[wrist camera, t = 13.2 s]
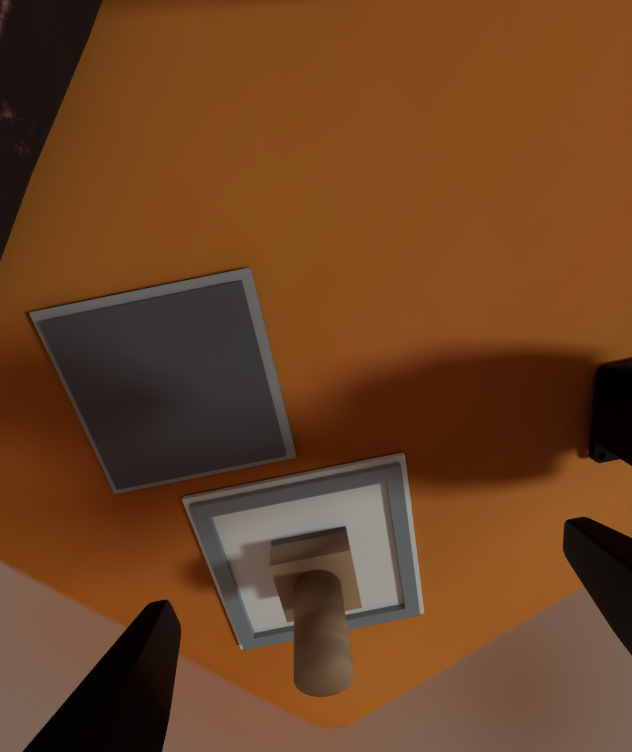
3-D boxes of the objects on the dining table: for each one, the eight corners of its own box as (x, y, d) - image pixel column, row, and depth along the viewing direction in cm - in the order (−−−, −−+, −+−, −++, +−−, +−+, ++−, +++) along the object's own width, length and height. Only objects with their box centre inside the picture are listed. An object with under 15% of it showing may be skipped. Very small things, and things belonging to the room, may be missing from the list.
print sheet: (403, 452, 22) (406, 458, 22) (422, 609, 27) (426, 618, 26) (183, 496, 22) (179, 504, 22) (241, 644, 27) (240, 654, 26)
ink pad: (250, 267, 18) (248, 268, 17) (295, 452, 22) (296, 461, 21) (37, 310, 18) (23, 314, 17) (119, 487, 22) (111, 498, 21)
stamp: (345, 525, 24) (366, 633, 17) (356, 581, 25) (379, 698, 19) (271, 540, 24) (263, 654, 17) (287, 594, 25) (285, 716, 19)
